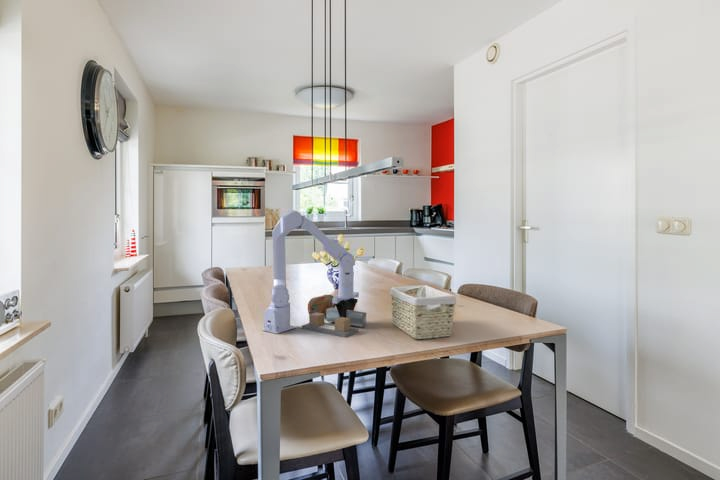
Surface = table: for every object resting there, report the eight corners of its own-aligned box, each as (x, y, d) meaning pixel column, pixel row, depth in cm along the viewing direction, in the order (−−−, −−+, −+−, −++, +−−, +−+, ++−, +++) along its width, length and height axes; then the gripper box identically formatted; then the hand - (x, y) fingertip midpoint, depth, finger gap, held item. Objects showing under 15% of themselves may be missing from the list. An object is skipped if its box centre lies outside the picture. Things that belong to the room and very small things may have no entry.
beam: (361, 326, 147) (361, 314, 146) (326, 320, 155) (326, 309, 155) (366, 324, 150) (366, 312, 149) (331, 318, 158) (331, 307, 158)
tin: (311, 319, 160) (311, 299, 159) (306, 318, 162) (306, 298, 161) (336, 312, 172) (336, 293, 171) (330, 311, 174) (330, 292, 173)
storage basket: (388, 323, 155) (388, 286, 154) (426, 320, 159) (426, 284, 158) (414, 342, 132) (414, 298, 131) (457, 338, 136) (458, 295, 135)
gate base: (345, 337, 136) (345, 323, 136) (301, 328, 148) (301, 314, 147) (358, 331, 143) (358, 318, 143) (315, 323, 154) (315, 310, 154)
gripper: (343, 287, 143) (343, 324, 144) (365, 282, 155) (365, 316, 156) (327, 285, 147) (328, 321, 148) (350, 280, 159) (350, 313, 160)
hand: (346, 318), depth 152 cm, fingers closed on beam, 4 cm apart
